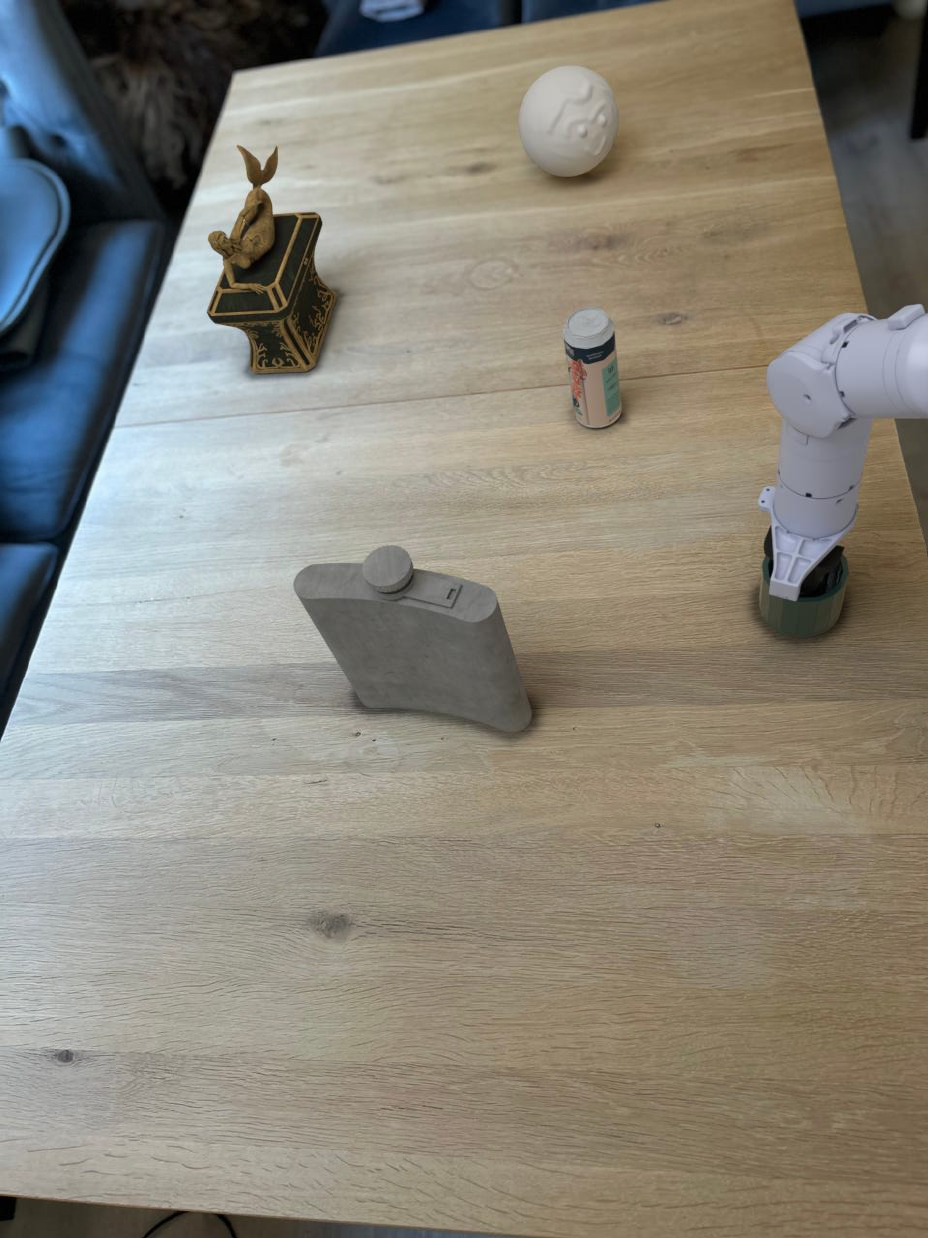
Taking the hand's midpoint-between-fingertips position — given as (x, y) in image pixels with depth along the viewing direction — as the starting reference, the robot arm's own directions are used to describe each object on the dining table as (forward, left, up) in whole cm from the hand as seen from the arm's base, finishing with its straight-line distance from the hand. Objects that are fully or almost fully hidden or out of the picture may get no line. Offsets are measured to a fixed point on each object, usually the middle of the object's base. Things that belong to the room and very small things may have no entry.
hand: (803, 577), depth 81 cm
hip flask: (+25, +19, -4) cm, 32 cm away
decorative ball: (+44, -54, -4) cm, 70 cm away
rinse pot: (0, 0, -4) cm, 4 cm away
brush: (0, 0, -4) cm, 4 cm away
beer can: (+25, -16, -4) cm, 30 cm away
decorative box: (+65, -20, -4) cm, 68 cm away
